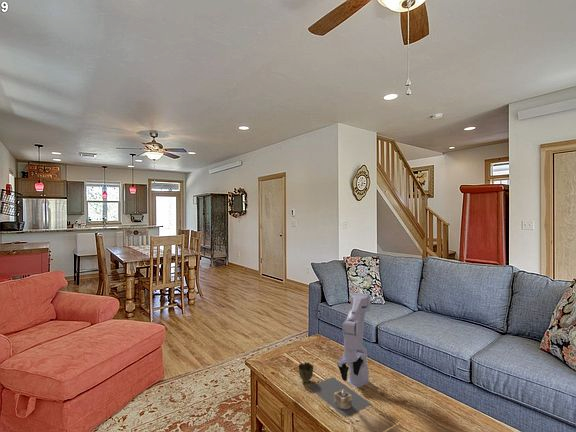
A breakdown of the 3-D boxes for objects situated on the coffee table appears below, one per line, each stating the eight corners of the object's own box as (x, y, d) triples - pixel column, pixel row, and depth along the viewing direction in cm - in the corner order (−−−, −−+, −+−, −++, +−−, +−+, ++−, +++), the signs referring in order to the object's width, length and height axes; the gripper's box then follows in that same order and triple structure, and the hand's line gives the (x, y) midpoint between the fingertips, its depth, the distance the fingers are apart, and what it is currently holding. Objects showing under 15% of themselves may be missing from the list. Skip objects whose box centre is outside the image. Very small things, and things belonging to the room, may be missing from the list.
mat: (333, 377, 154) (333, 376, 154) (372, 405, 132) (372, 404, 132) (308, 387, 146) (308, 386, 146) (345, 418, 124) (345, 417, 124)
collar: (343, 397, 136) (343, 389, 136) (351, 404, 131) (351, 395, 131) (334, 401, 133) (334, 392, 133) (342, 408, 129) (342, 399, 128)
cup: (301, 387, 146) (301, 370, 146) (296, 378, 153) (296, 363, 153) (315, 384, 148) (315, 368, 148) (310, 376, 155) (310, 361, 155)
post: (343, 398, 137) (343, 385, 137) (354, 406, 131) (354, 393, 131) (332, 403, 133) (332, 390, 133) (342, 412, 127) (342, 398, 127)
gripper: (354, 340, 144) (354, 368, 144) (332, 348, 136) (332, 378, 136) (366, 345, 138) (366, 375, 139) (344, 354, 130) (344, 385, 130)
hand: (350, 377), depth 137 cm, fingers open, 7 cm apart
